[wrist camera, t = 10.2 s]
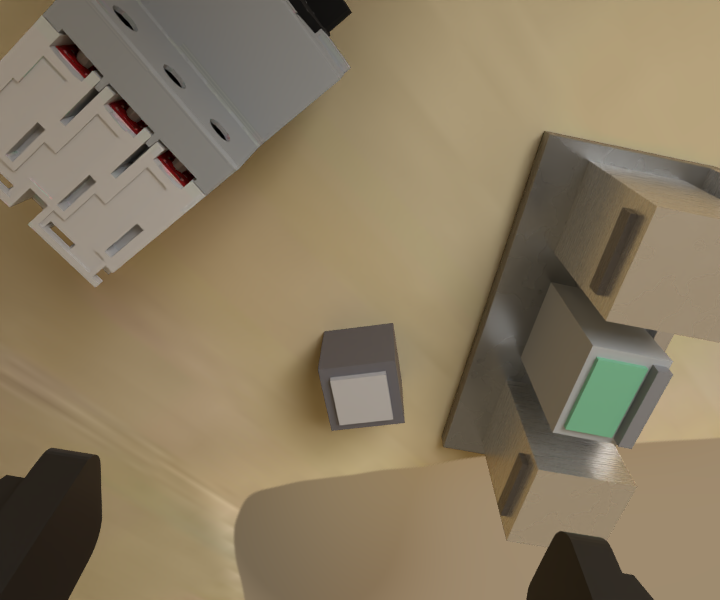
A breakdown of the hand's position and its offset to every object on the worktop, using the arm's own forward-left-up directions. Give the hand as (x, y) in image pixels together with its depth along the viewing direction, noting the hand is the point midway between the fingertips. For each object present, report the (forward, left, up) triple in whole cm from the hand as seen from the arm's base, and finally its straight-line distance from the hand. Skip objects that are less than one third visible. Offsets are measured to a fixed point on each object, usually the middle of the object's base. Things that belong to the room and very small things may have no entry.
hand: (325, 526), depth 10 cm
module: (+8, +16, -27) cm, 32 cm away
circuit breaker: (-4, -8, -28) cm, 30 cm away
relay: (+14, +3, -28) cm, 32 cm away
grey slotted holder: (+8, +16, -28) cm, 33 cm away
